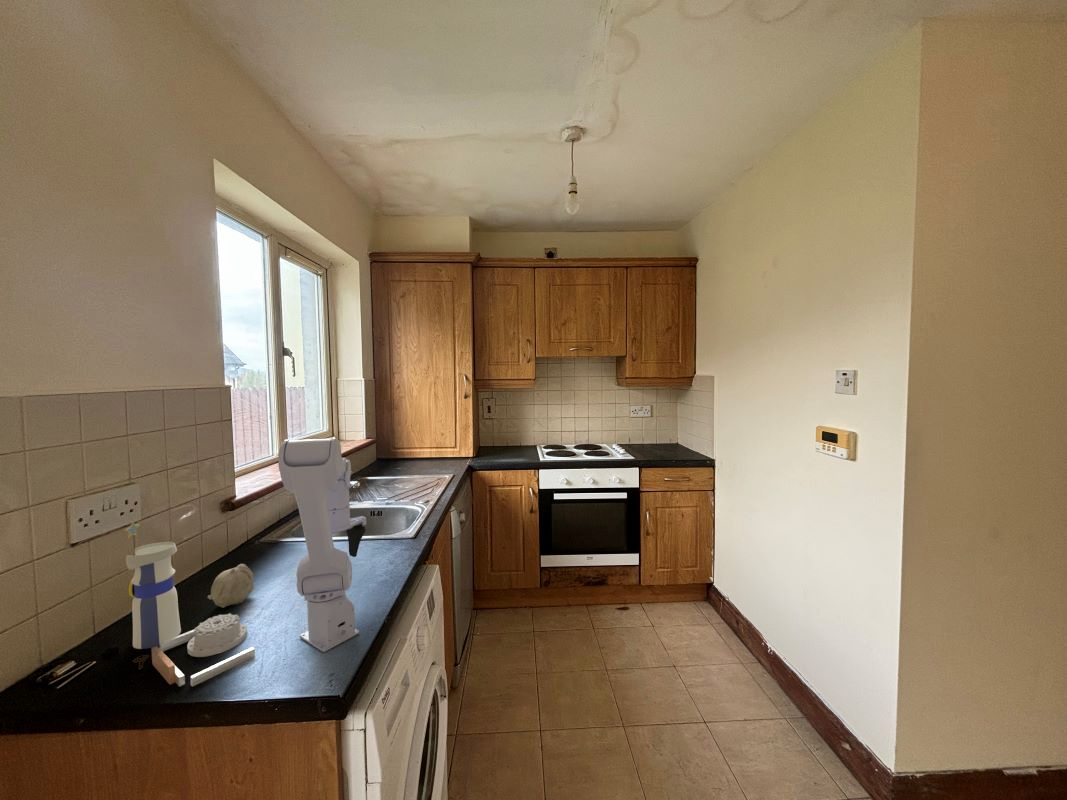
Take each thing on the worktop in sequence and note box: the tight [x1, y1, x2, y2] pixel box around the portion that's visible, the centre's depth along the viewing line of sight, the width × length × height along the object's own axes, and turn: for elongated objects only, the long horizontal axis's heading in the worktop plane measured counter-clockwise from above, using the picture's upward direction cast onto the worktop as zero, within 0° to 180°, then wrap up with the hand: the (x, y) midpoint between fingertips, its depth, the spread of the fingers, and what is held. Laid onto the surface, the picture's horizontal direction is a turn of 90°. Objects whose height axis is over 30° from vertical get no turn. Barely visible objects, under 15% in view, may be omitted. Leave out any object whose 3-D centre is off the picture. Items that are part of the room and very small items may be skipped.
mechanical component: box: [186, 612, 248, 658], centre depth 89 cm, size 10×4×10 cm
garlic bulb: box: [207, 563, 255, 609], centre depth 105 cm, size 9×8×10 cm
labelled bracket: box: [151, 628, 256, 687], centre depth 84 cm, size 18×12×3 cm
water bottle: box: [125, 521, 182, 650], centre depth 90 cm, size 8×9×25 cm
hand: (338, 561), depth 106 cm, fingers open, 7 cm apart
